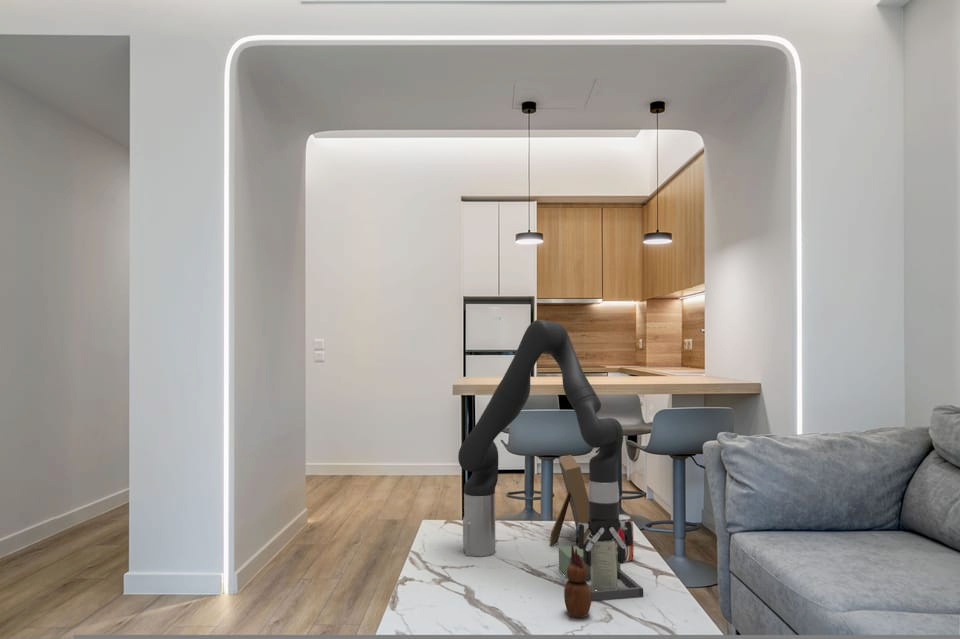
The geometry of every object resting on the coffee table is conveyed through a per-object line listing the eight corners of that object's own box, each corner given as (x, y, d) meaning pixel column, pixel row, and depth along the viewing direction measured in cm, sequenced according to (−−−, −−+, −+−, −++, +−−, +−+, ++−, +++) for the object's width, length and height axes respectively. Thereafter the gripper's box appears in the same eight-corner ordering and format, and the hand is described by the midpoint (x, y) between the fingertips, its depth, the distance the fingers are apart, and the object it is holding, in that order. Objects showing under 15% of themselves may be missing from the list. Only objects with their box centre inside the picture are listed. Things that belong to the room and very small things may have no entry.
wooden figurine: (562, 609, 153) (561, 543, 154) (586, 608, 154) (585, 542, 155) (568, 621, 147) (567, 552, 147) (594, 620, 147) (593, 551, 148)
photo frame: (590, 531, 218) (588, 454, 219) (601, 551, 197) (598, 466, 198) (544, 532, 218) (543, 455, 219) (551, 552, 197) (548, 467, 198)
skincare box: (617, 587, 167) (617, 538, 168) (615, 593, 163) (614, 543, 164) (592, 584, 169) (592, 536, 170) (589, 590, 165) (589, 540, 166)
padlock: (588, 601, 158) (587, 575, 158) (558, 569, 181) (558, 547, 181) (643, 596, 161) (642, 571, 161) (607, 566, 183) (607, 544, 184)
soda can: (634, 564, 185) (633, 520, 186) (608, 562, 187) (607, 519, 187) (633, 556, 192) (632, 514, 193) (608, 554, 194) (607, 513, 194)
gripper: (624, 494, 172) (625, 557, 172) (571, 496, 170) (572, 561, 169) (636, 500, 165) (637, 567, 164) (581, 503, 162) (582, 570, 162)
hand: (604, 564), depth 167 cm, fingers open, 8 cm apart
